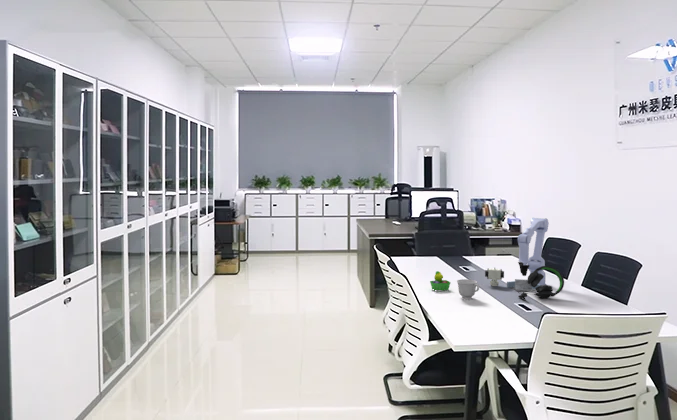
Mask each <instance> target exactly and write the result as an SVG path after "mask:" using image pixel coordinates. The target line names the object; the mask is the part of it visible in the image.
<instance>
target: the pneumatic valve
mask: <svg viewBox="0 0 677 420" xmlns="http://www.w3.org/2000/svg"><path fill="white" fill-rule="evenodd" d="M484 277H485V278H486V279H487V280H490V281H489V285H490V286H492V287H498V286H499V282H500V281H502V279H504V278H505V271H504V270H502V268H496V267H493V268H490V267H489V268H487V269H485V271H484ZM498 280H499V281H498Z"/></svg>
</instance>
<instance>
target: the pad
mask: <svg viewBox="0 0 677 420" xmlns="http://www.w3.org/2000/svg"><path fill="white" fill-rule="evenodd" d="M510 289H512V290H514V291H516V290H515V287H510ZM523 292H525V293H529V292H531V291H519V293H523ZM532 292H536V290H535V289H533V291H532Z"/></svg>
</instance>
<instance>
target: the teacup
mask: <svg viewBox="0 0 677 420" xmlns="http://www.w3.org/2000/svg"><path fill="white" fill-rule="evenodd" d="M456 283H457V286H458V287H457V288H458V293H459V295H460V296H461V299H463V300H472V299H473V298H472V297H473V296H475V294H476V292H478V291H479V290H480V284H478V281H477V280H474V279H465V278H464V279H457V280H456Z"/></svg>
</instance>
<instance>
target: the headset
mask: <svg viewBox="0 0 677 420" xmlns="http://www.w3.org/2000/svg"><path fill="white" fill-rule="evenodd" d="M543 269H544V270H548V271H551V272H552V273H554V274H555V276H556V277H557V278H558V281H559V287H558V289H557V290H556V291H555V292H553V286H552V285H547V284H546V285H541V286H539V287H537V288H536V291H535V293H531V295H533V296H535V297H536V296H537V298H538V297H539V298H541V299H550V297H554V296H556V295H558V294H559V293H560V292H562V290H563V288H564V287H565V279H564V276H563V274H562V273H561V272H560V270H559V269H558V268H556V267H553V266H550V265H545V266H542V267H539V268H537V269H536V270H535V271H534V272H532V273H531V274H530V273H529V275H528V276H527V279H526V280H527V283H528V284H530V283H531V286H532V287H536V286H537V285H538V283H539V282H540V281H541V279H543V277H544V276H543V275H542V274H541V273H538V271H539V270H543ZM544 270H543V271H544ZM517 294H519V295H518V297H517V298H519V299H520V300H522V299H523V300H524V301H526V298H527V297H528V295H529V292H520V291H517Z"/></svg>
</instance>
